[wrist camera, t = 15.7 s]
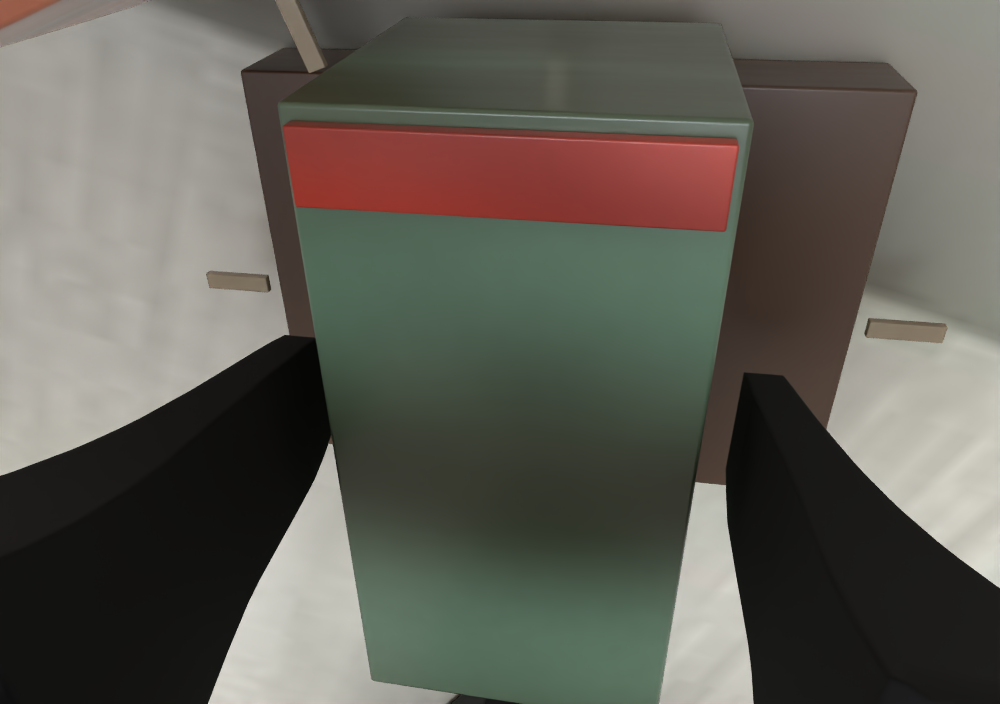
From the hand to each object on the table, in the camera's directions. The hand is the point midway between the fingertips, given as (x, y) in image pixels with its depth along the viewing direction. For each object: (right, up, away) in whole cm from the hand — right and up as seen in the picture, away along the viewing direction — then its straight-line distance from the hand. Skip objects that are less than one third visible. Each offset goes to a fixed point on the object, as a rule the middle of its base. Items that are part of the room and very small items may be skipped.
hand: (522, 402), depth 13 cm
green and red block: (+1, +2, +3) cm, 4 cm away
